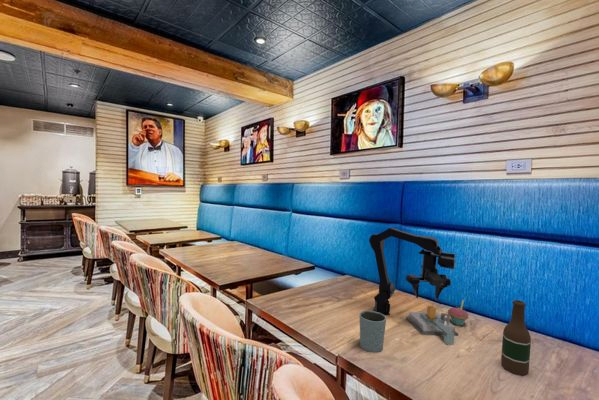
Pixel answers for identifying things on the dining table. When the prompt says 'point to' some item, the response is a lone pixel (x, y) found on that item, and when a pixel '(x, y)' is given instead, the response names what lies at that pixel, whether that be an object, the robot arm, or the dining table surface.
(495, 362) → the dining table surface
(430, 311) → the orange upright bar
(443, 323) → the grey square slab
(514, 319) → the beer bottle
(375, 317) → the grey cup
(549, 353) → the dining table surface
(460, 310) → the cupcake
